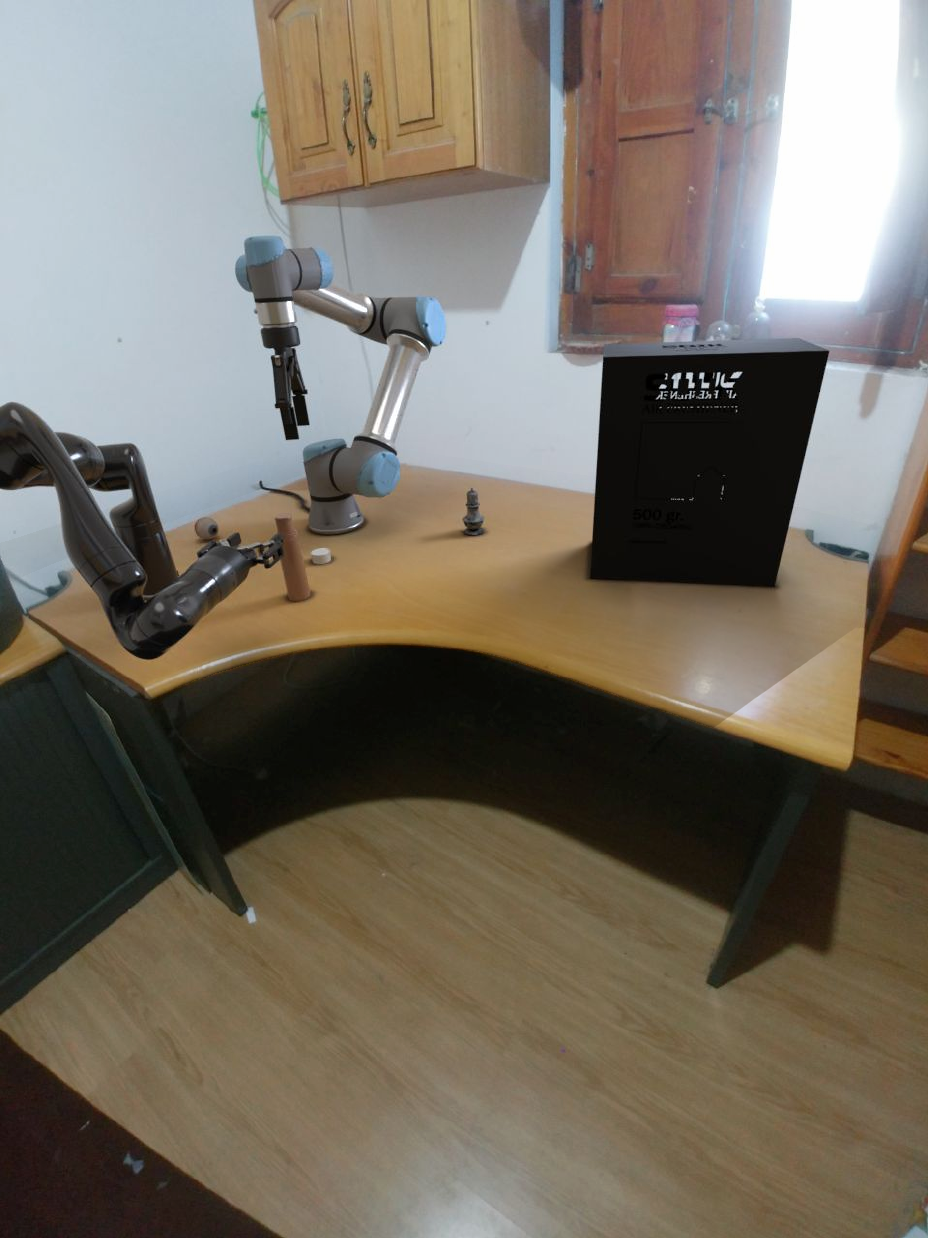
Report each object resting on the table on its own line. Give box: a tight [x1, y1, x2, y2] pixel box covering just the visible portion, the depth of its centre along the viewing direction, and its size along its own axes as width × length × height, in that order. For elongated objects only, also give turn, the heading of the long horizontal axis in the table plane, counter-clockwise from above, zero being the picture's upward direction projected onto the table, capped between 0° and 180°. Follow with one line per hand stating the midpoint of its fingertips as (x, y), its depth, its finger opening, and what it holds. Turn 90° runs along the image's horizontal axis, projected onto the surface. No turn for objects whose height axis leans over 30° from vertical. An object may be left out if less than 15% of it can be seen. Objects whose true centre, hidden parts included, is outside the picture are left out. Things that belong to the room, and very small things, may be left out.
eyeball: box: [194, 516, 220, 541], centre depth 163 cm, size 6×6×6 cm
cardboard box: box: [589, 337, 830, 587], centre depth 126 cm, size 38×20×45 cm, turn 78°
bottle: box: [273, 512, 311, 602], centre depth 128 cm, size 5×5×19 cm
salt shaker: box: [461, 487, 485, 536], centre depth 157 cm, size 6×6×12 cm
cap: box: [310, 547, 332, 565], centre depth 148 cm, size 4×4×2 cm
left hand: (259, 537), depth 115 cm, fingers open, 8 cm apart
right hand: (298, 432), depth 133 cm, fingers open, 13 cm apart
